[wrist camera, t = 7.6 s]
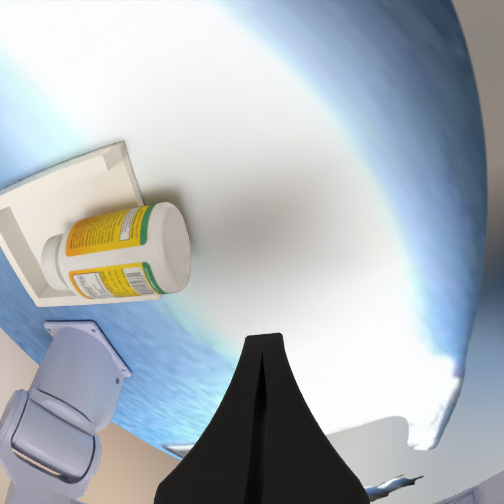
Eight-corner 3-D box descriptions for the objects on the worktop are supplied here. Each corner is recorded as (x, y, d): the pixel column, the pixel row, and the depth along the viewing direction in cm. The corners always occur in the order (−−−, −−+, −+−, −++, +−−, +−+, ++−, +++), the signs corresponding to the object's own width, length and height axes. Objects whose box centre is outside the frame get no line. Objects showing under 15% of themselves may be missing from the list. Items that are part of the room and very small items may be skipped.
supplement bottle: (171, 303, 15) (43, 311, 16) (197, 280, 20) (86, 292, 21) (153, 197, 14) (28, 229, 15) (185, 201, 20) (74, 224, 21)
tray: (169, 272, 23) (160, 299, 20) (51, 285, 24) (37, 307, 22) (123, 140, 17) (102, 154, 14) (2, 188, 18) (-19, 205, 16)
